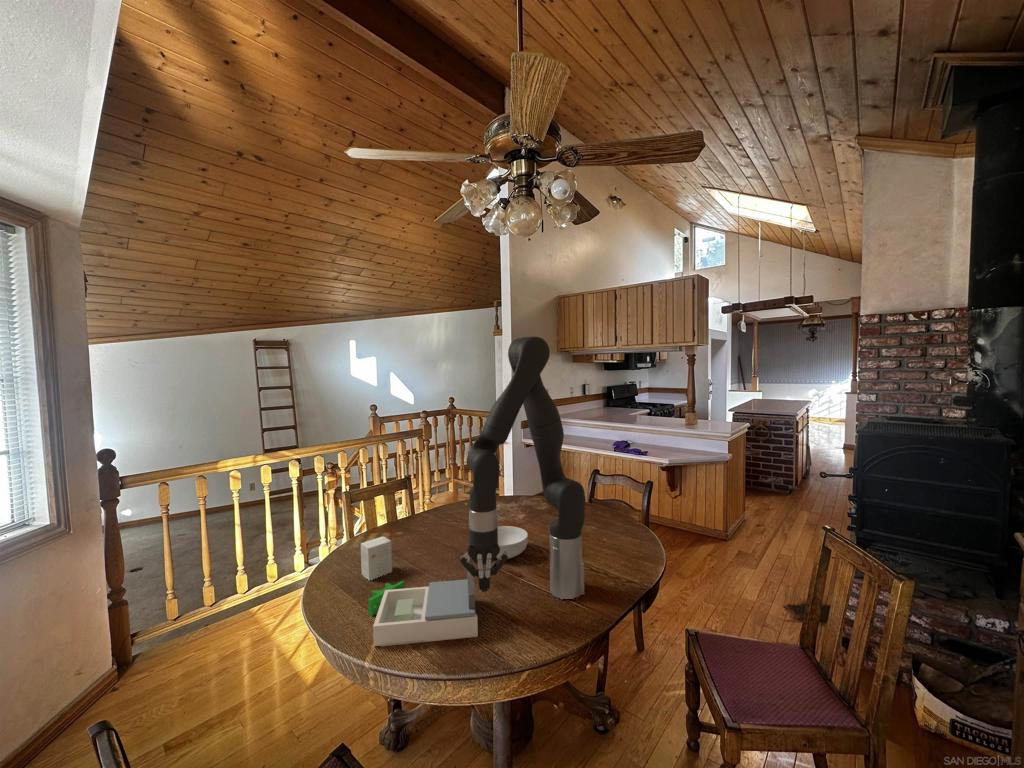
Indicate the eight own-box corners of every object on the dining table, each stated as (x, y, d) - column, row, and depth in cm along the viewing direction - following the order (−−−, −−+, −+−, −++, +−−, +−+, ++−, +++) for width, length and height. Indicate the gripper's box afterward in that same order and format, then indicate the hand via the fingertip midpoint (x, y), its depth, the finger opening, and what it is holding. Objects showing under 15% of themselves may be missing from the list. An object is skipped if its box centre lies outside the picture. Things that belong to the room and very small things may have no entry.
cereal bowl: (505, 540, 156) (505, 521, 155) (538, 553, 144) (537, 534, 144) (470, 554, 144) (470, 535, 144) (502, 571, 132) (502, 549, 132)
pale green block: (413, 613, 109) (413, 598, 109) (411, 629, 102) (410, 613, 102) (398, 614, 108) (397, 599, 108) (394, 631, 101) (394, 615, 101)
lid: (472, 581, 115) (472, 566, 115) (475, 615, 99) (474, 598, 99) (429, 585, 114) (429, 570, 114) (425, 620, 98) (424, 602, 98)
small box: (384, 566, 136) (383, 535, 136) (392, 572, 132) (391, 540, 132) (361, 575, 130) (360, 543, 130) (368, 581, 126) (367, 548, 126)
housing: (474, 599, 116) (474, 582, 115) (477, 636, 100) (477, 616, 99) (385, 608, 112) (384, 590, 112) (373, 647, 96) (373, 626, 96)
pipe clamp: (396, 593, 120) (395, 578, 120) (404, 597, 118) (404, 582, 118) (362, 612, 111) (362, 595, 111) (371, 617, 109) (370, 600, 108)
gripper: (506, 518, 112) (507, 580, 112) (457, 521, 110) (459, 584, 110) (510, 528, 104) (511, 595, 105) (458, 532, 102) (459, 600, 103)
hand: (484, 590), depth 108 cm, fingers closed
